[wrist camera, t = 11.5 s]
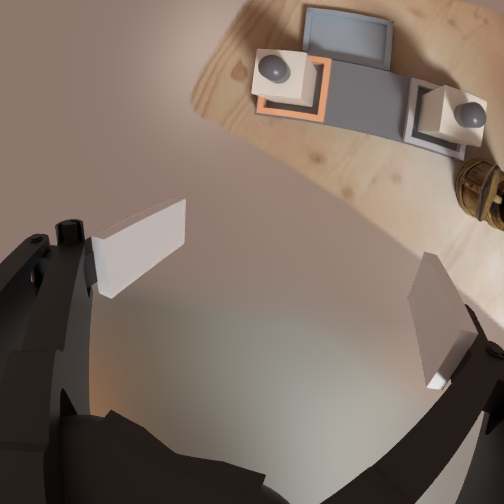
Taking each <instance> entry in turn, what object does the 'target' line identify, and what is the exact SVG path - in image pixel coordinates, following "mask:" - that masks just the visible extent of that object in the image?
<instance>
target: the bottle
mask: <svg viewBox="0 0 504 504" xmlns="http://www.w3.org/2000/svg"><path fill="white" fill-rule="evenodd" d="M316 74H317V71H316V69H315V67H314V65H313V64H312V62H311V60H310V58H309V56H308V54H307V53H306V52H297V51H286V50H272V49H257V53H256V61H255V68H254V76H253V84H252V92H251V93H252V94H254V95H257V96H260V97H262V98H265V99H268V100H270V101H273V102H278V103H286V104H293V105H300V106H307V107H312V105H313V97H314V90H315V82H316Z"/></svg>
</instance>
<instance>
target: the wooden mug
mask: <svg viewBox="0 0 504 504" xmlns="http://www.w3.org/2000/svg"><path fill="white" fill-rule="evenodd" d="M456 193H457V199H458V202H459V205H460V207H461V208H462V209H463V210H464V212H465V213H466V214H468V215H470V216H472V217H474V218H477V219H478V220H479V221H483V220H485V221H487V222H488V224H489V225H490V226H492V227H494V228H496V229H499V230H501V231H504V172H503V171H501V169H500V168H499V166H498V165H495V164H494V163H492V162H490V161H488V160H485V159H474V160H471V161H469V162H467V164H466V165H465V166H464V167H463V168H462V170H461V171H460V173H459V175H458V178H457V181H456Z"/></svg>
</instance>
